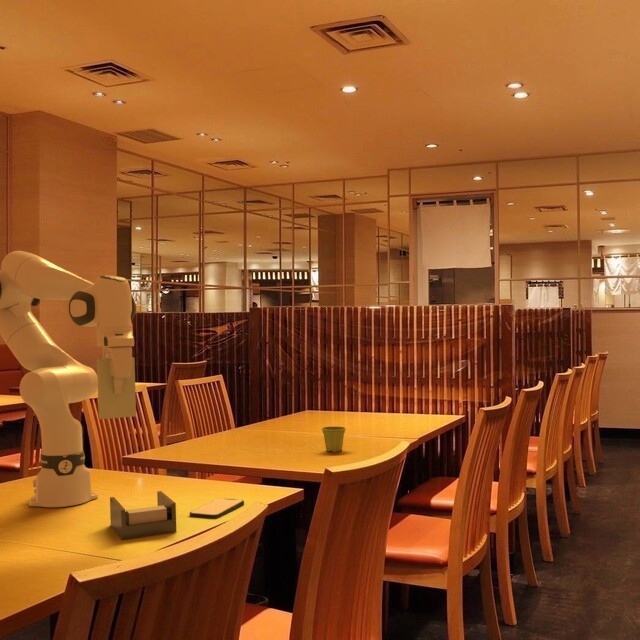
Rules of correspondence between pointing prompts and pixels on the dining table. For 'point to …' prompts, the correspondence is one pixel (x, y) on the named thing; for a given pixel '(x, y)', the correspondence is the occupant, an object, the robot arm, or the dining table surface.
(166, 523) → the rack
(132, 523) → the offcut upper
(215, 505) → the phone case
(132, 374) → the tall sheet
